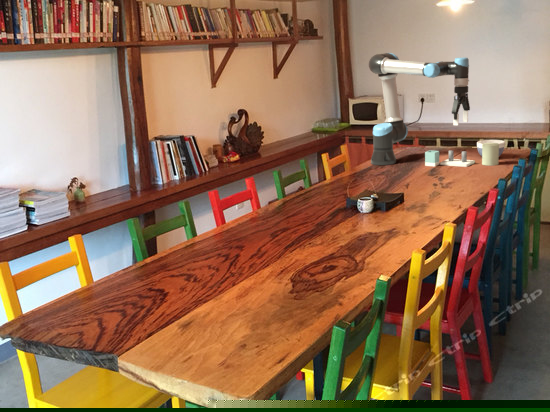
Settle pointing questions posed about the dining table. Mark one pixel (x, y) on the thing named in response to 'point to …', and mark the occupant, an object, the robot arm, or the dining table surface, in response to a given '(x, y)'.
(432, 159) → the sleeve
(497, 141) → the bowl
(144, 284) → the dining table surface
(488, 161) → the can
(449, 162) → the pinboard
